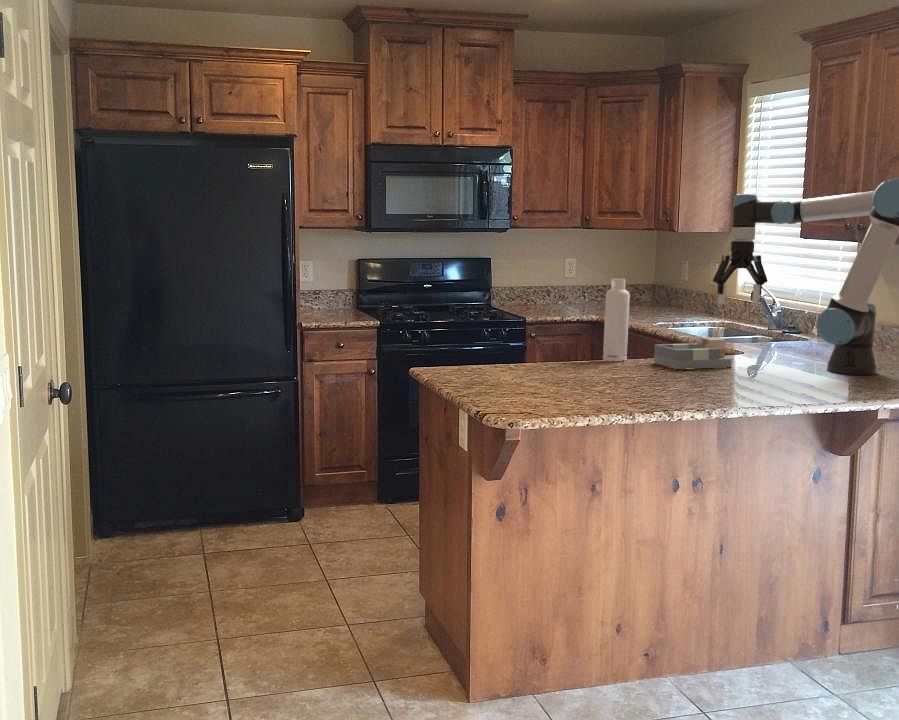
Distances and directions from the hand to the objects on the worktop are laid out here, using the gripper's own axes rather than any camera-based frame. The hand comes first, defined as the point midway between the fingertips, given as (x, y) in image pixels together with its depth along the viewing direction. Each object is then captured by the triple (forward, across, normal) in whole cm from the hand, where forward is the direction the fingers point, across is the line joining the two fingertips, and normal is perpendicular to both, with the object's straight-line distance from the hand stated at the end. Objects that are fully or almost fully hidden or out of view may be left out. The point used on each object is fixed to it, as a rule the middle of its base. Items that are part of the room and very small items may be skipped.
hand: (738, 303), depth 333 cm
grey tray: (+21, +17, +1) cm, 27 cm away
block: (+18, +10, 0) cm, 20 cm away
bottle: (+21, +38, -16) cm, 46 cm away
